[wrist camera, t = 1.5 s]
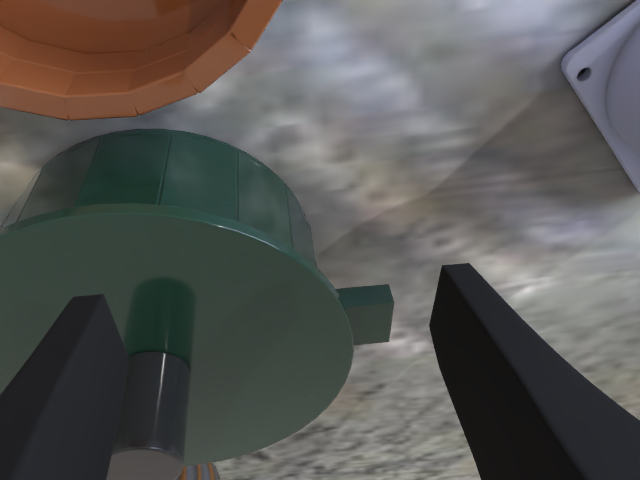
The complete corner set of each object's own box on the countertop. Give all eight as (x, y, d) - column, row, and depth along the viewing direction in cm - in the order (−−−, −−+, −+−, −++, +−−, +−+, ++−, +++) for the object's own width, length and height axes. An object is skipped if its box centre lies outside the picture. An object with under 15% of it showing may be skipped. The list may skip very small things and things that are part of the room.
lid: (344, 426, 25) (361, 530, 22) (28, 461, 24) (-8, 578, 21) (356, 172, 16) (390, 286, 12) (-170, 209, 14) (-300, 348, 11)
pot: (361, 324, 29) (383, 423, 24) (17, 356, 27) (-26, 468, 23) (376, 113, 20) (414, 207, 16) (-118, 144, 19) (-226, 256, 15)
